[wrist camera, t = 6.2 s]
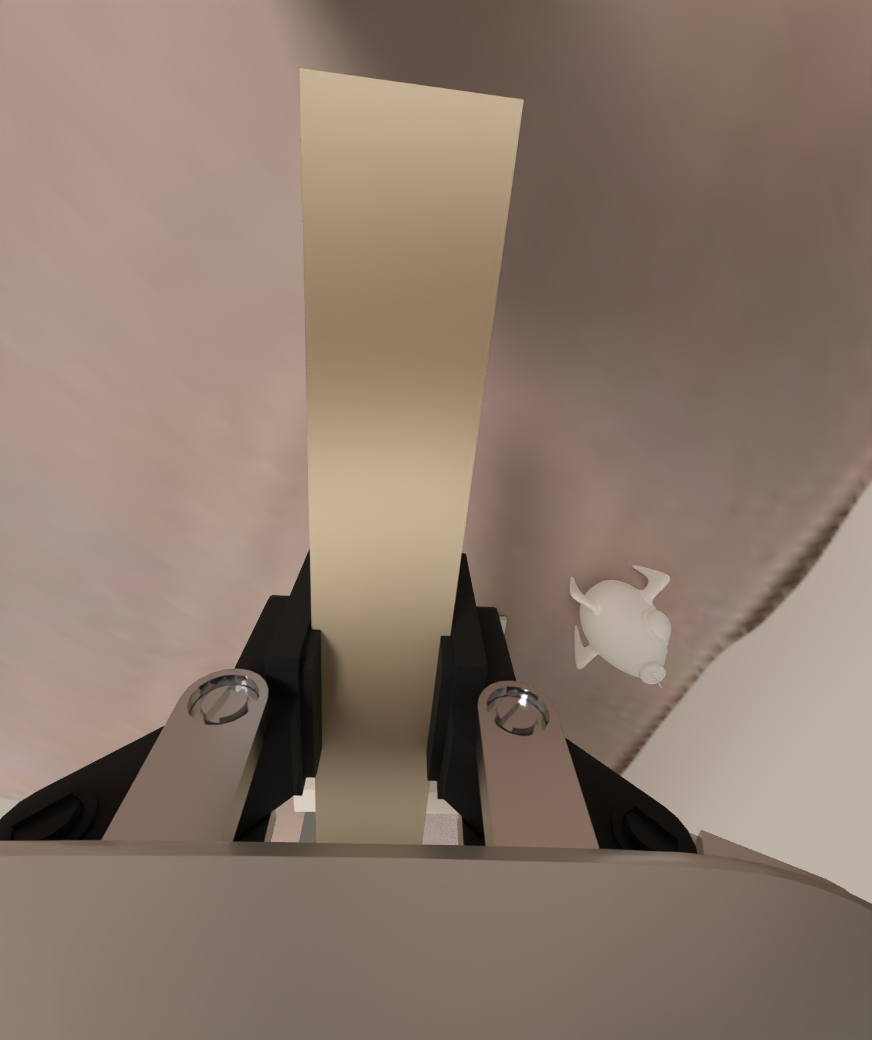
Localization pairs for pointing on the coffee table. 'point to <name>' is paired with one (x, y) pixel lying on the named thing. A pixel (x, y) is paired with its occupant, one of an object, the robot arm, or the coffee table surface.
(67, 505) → the coffee table surface
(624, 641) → the rocket toy
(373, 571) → the tan wavy bar
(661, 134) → the coffee table surface
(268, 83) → the coffee table surface
